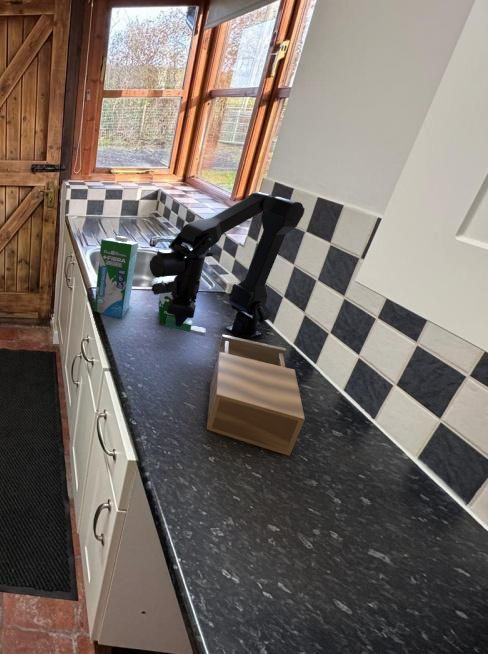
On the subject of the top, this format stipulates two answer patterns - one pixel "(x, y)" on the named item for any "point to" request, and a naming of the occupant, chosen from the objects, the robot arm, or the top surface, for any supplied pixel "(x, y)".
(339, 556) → the top surface
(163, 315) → the soya milk
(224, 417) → the cabinet
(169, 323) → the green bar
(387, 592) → the top surface
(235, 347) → the drawer
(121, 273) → the milk carton
